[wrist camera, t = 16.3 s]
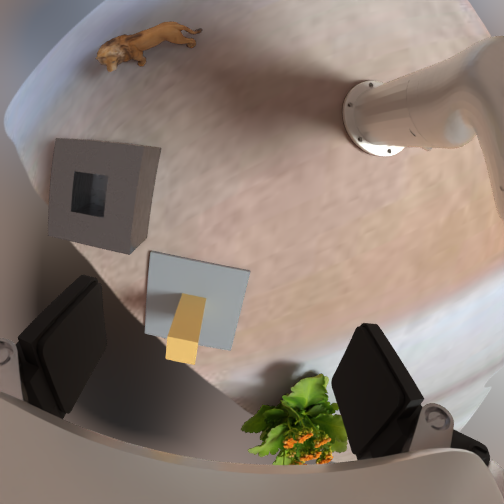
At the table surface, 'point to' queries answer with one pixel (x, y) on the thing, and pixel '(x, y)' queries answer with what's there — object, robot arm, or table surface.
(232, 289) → the mat
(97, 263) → the table surface
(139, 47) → the brown animal figure
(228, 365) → the table surface
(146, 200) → the hole block
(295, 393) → the potted flower
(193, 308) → the peg
